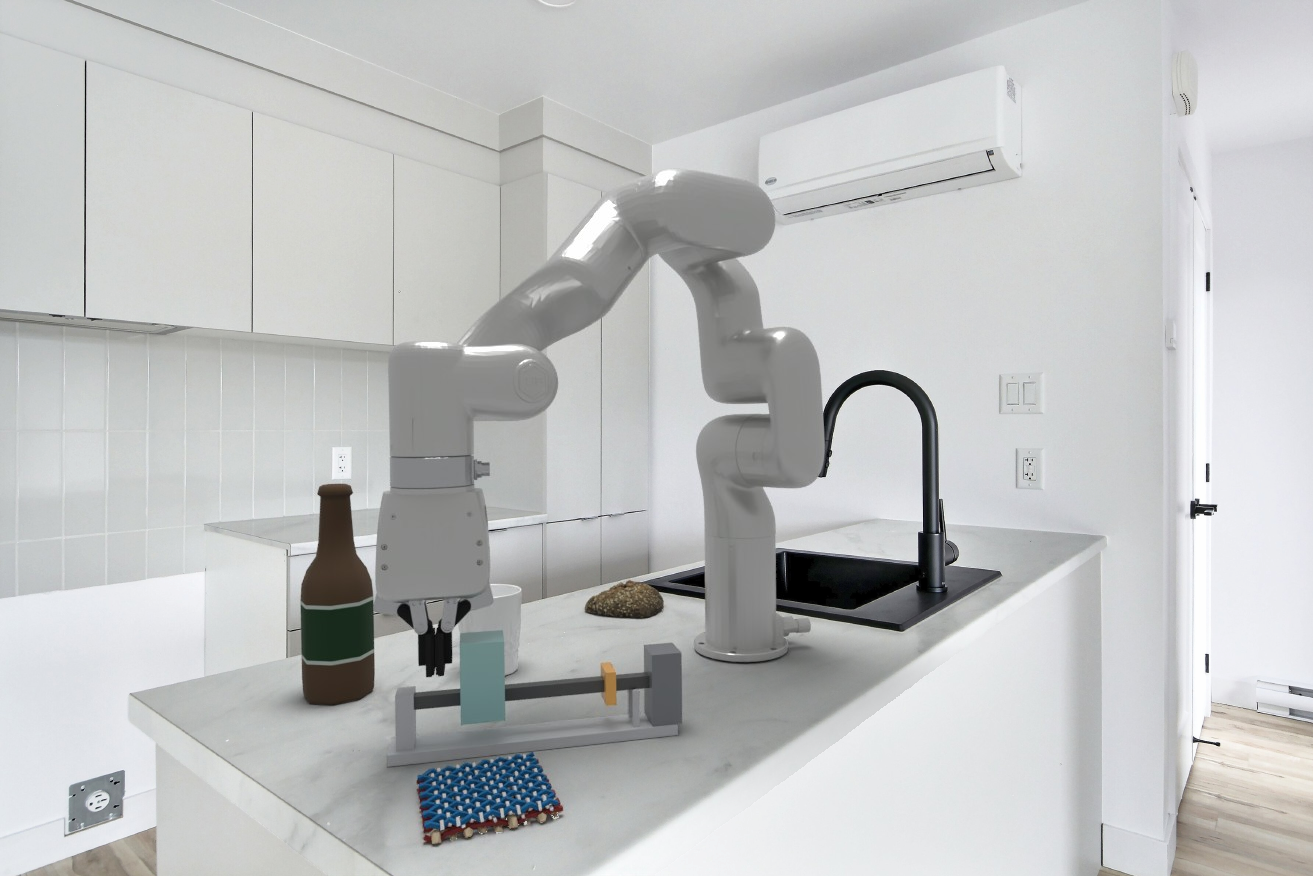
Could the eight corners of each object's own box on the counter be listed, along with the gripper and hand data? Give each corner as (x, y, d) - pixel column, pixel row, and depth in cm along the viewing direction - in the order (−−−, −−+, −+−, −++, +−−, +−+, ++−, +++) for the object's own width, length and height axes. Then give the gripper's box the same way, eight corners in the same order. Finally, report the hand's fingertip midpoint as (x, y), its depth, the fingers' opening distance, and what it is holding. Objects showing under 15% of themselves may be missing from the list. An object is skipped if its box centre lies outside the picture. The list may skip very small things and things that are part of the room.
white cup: (507, 682, 89) (506, 598, 89) (446, 679, 91) (445, 596, 91) (531, 662, 97) (530, 584, 97) (474, 658, 99) (473, 582, 98)
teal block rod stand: (672, 719, 78) (671, 642, 78) (682, 734, 74) (682, 653, 74) (391, 748, 71) (390, 664, 71) (386, 766, 67) (385, 678, 67)
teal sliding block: (503, 705, 74) (502, 630, 74) (505, 720, 70) (504, 641, 70) (461, 709, 73) (460, 633, 73) (460, 725, 69) (459, 644, 69)
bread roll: (644, 623, 116) (643, 591, 116) (575, 615, 122) (575, 585, 122) (677, 605, 128) (677, 576, 128) (613, 598, 133) (613, 570, 133)
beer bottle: (329, 711, 81) (325, 488, 80) (286, 698, 85) (282, 485, 84) (389, 689, 87) (385, 483, 87) (347, 678, 92) (343, 481, 91)
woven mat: (567, 826, 58) (567, 800, 58) (424, 856, 54) (423, 828, 54) (538, 769, 68) (538, 746, 68) (415, 790, 64) (414, 767, 64)
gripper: (512, 471, 75) (515, 654, 76) (353, 475, 72) (356, 666, 72) (516, 476, 68) (519, 678, 68) (339, 480, 65) (343, 693, 65)
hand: (435, 671), depth 70 cm, fingers closed
